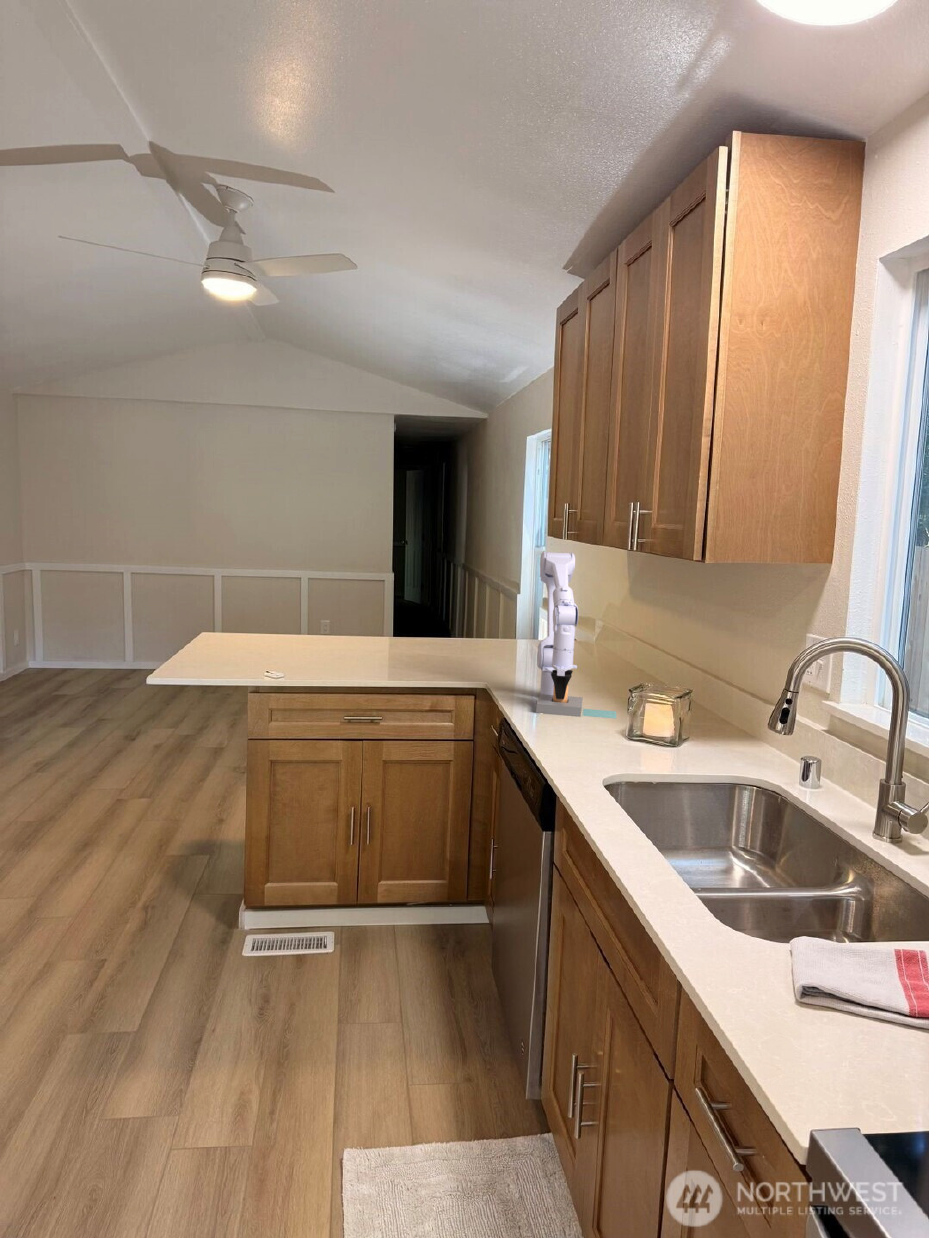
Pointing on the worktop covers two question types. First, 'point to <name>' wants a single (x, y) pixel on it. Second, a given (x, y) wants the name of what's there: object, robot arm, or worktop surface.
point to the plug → (561, 699)
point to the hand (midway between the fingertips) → (560, 697)
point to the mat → (599, 713)
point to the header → (559, 706)
